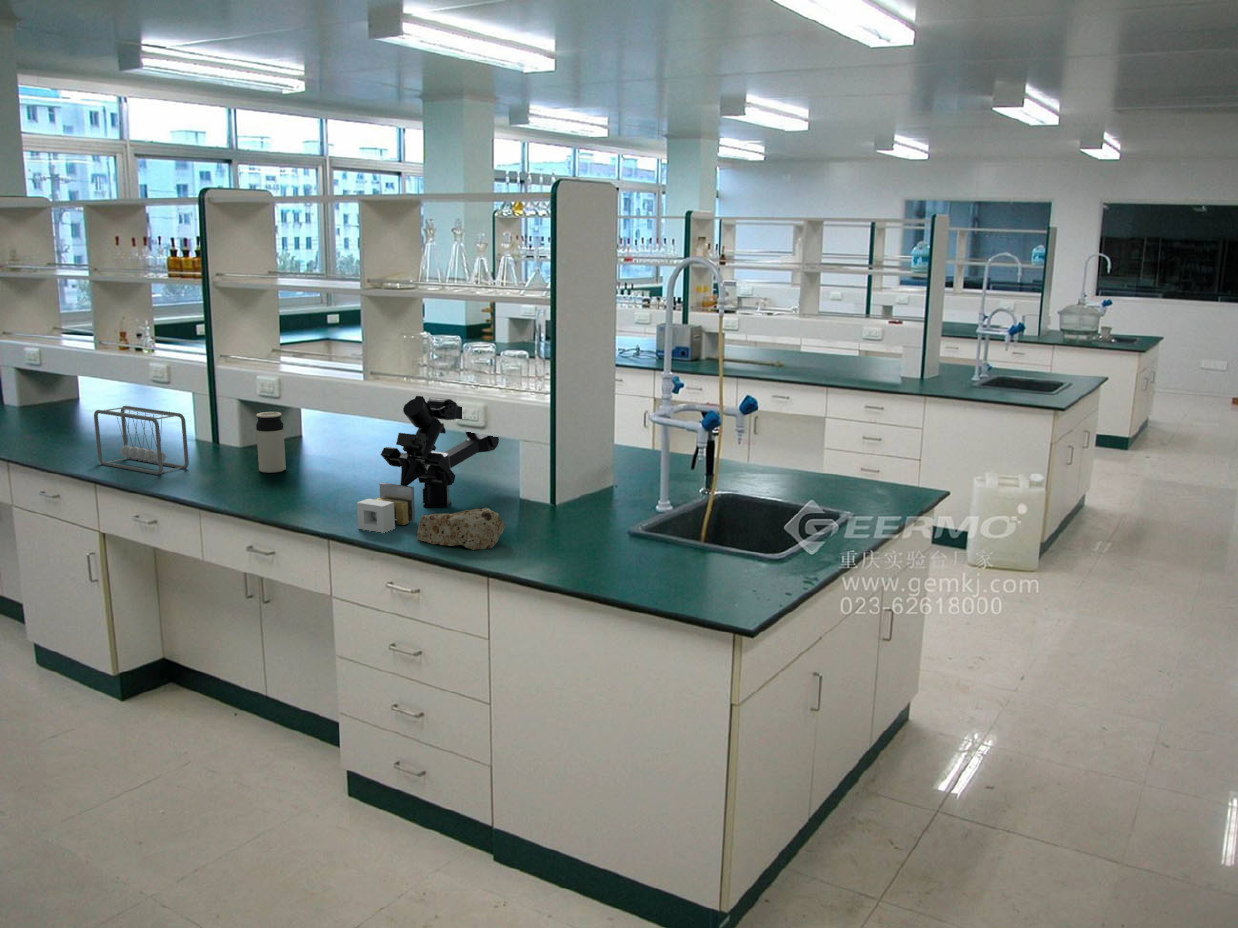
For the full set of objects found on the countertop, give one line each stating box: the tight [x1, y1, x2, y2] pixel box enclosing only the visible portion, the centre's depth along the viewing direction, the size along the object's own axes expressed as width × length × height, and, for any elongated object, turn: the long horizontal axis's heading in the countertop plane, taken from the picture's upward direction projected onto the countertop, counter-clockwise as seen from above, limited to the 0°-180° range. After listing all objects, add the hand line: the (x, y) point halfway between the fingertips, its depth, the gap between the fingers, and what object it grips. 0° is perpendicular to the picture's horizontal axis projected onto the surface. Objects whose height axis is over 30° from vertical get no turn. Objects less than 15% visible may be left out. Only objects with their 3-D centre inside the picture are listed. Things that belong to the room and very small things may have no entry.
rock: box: [416, 507, 506, 551], centre depth 244 cm, size 21×14×10 cm
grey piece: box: [371, 482, 416, 523], centre depth 256 cm, size 9×10×9 cm
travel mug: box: [255, 411, 287, 474], centre depth 311 cm, size 8×8×18 cm
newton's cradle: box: [93, 405, 190, 476], centre depth 313 cm, size 30×10×18 cm, turn 62°
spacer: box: [374, 497, 409, 526], centre depth 257 cm, size 2×9×6 cm, turn 66°
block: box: [356, 498, 396, 534], centre depth 252 cm, size 4×8×7 cm, turn 65°
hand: (402, 486), depth 261 cm, fingers closed
